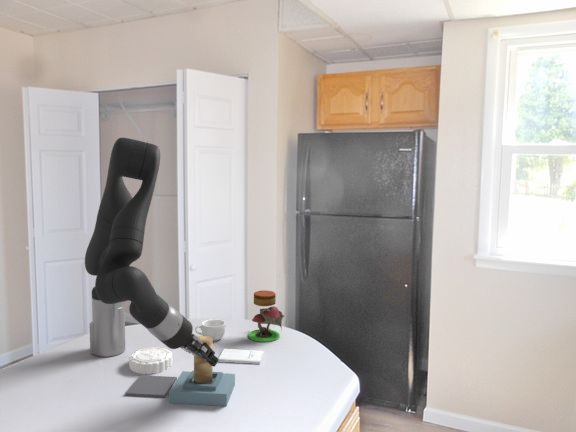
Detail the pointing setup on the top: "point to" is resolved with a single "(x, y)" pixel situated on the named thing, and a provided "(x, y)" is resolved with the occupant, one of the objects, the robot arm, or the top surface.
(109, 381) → the top surface
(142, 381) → the grey rubber coaster
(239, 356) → the external hard drive
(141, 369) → the mooncake
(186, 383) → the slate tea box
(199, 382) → the oak stopper
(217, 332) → the teacup
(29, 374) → the top surface
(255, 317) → the mushroom figurine
